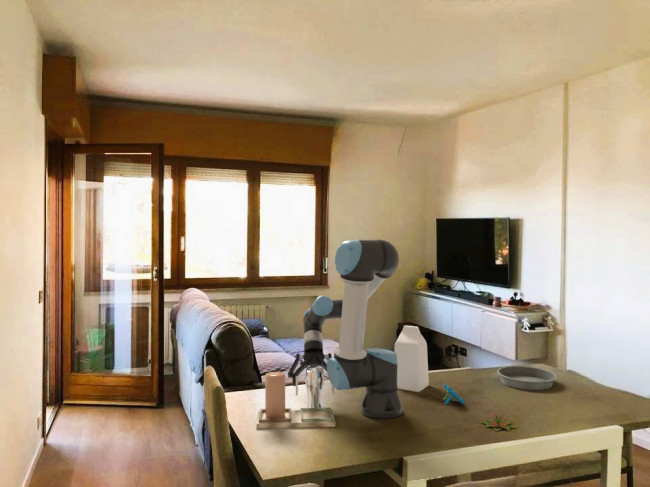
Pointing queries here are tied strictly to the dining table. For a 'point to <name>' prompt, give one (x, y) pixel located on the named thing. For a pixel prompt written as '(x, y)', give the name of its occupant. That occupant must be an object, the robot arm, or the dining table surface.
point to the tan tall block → (275, 395)
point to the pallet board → (299, 418)
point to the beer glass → (314, 387)
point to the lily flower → (501, 422)
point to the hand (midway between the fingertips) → (315, 393)
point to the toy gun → (451, 395)
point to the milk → (411, 360)
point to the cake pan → (526, 377)
